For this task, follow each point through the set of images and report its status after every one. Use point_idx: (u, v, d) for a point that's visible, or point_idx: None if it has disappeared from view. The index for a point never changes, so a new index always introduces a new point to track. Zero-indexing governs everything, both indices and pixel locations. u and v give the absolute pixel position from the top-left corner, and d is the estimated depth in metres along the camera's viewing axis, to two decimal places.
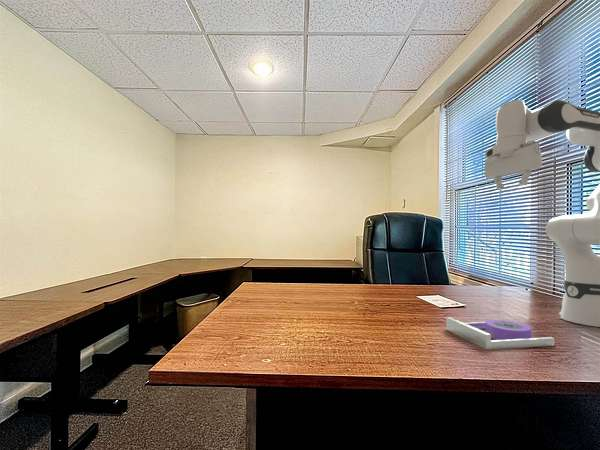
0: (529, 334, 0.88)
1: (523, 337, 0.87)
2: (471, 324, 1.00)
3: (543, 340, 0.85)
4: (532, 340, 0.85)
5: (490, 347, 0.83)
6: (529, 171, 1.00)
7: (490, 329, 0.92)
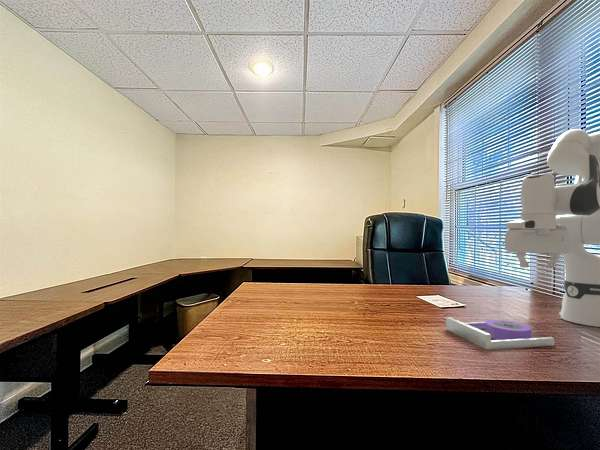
0: (529, 334, 0.88)
1: (523, 337, 0.87)
2: (471, 324, 1.00)
3: (543, 340, 0.85)
4: (532, 340, 0.85)
5: (490, 347, 0.83)
6: None
7: (490, 329, 0.92)
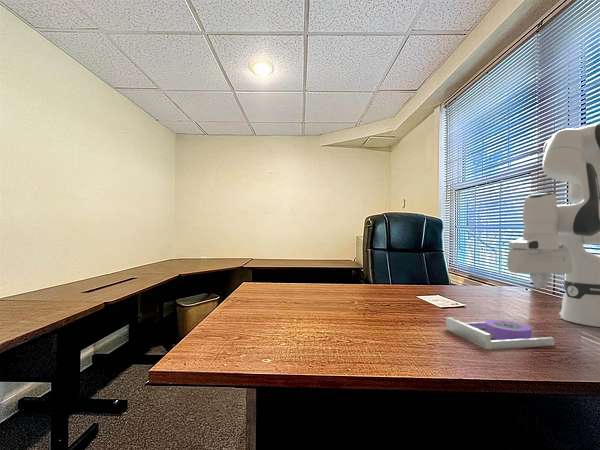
0: (529, 334, 0.88)
1: (523, 337, 0.87)
2: (471, 324, 1.00)
3: (543, 340, 0.85)
4: (532, 340, 0.85)
5: (490, 347, 0.83)
6: None
7: (490, 329, 0.92)
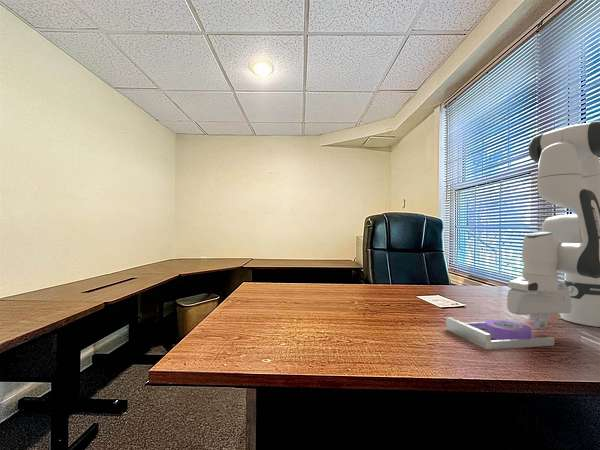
0: (529, 334, 0.88)
1: (523, 337, 0.87)
2: (471, 324, 1.00)
3: (543, 340, 0.85)
4: (532, 340, 0.85)
5: (490, 347, 0.83)
6: None
7: (490, 329, 0.92)
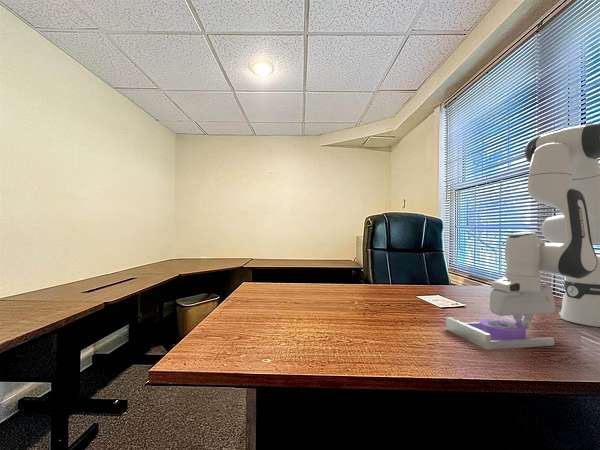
0: (523, 333, 0.88)
1: (517, 337, 0.87)
2: (471, 324, 1.00)
3: (543, 340, 0.85)
4: (532, 340, 0.85)
5: (490, 347, 0.83)
6: None
7: (485, 329, 0.92)
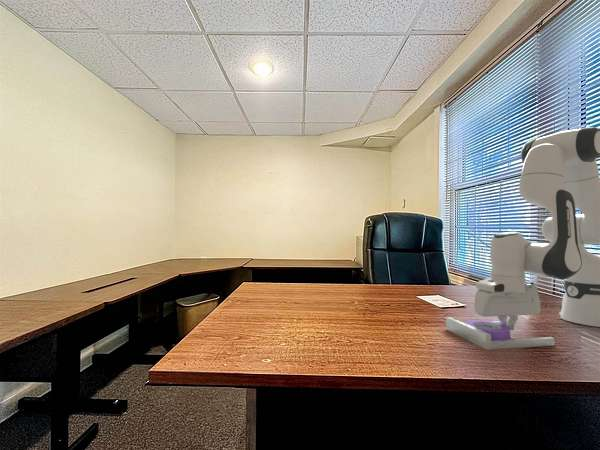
0: (507, 335, 0.87)
1: (501, 338, 0.86)
2: None
3: (543, 340, 0.85)
4: (532, 340, 0.85)
5: (490, 347, 0.83)
6: None
7: None
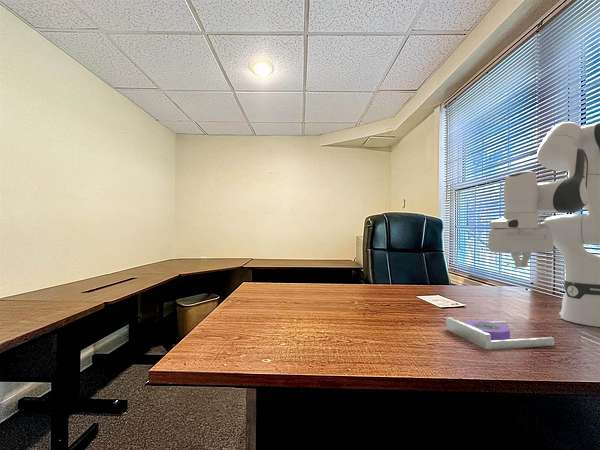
0: (507, 335, 0.87)
1: (501, 338, 0.86)
2: None
3: (543, 340, 0.85)
4: (532, 340, 0.85)
5: (490, 347, 0.83)
6: None
7: None
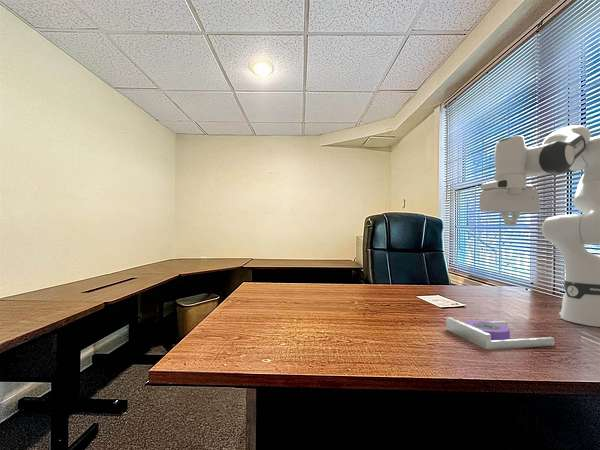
0: (507, 335, 0.87)
1: (501, 338, 0.86)
2: None
3: (543, 340, 0.85)
4: (532, 340, 0.85)
5: (490, 347, 0.83)
6: None
7: None
